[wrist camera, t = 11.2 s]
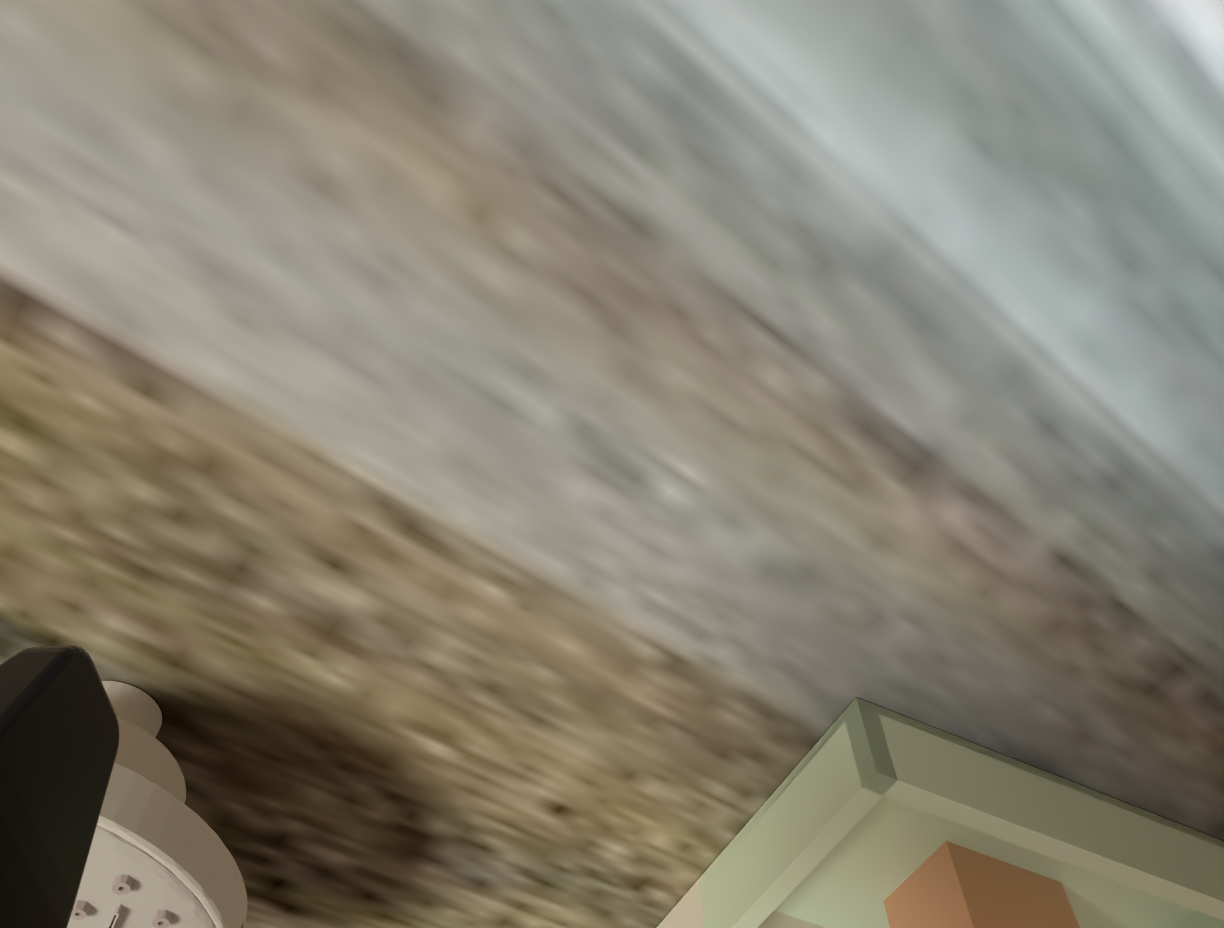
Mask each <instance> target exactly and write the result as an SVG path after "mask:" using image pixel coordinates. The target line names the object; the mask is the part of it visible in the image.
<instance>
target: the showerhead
mask: <svg viewBox="0 0 1224 928" xmlns="http://www.w3.org/2000/svg"><path fill="white" fill-rule="evenodd" d="M102 684H103V686H104V688H105V691H106V693H107V695H108V698H109V700H110V702H111V704H112V707H113V709H114V711H115V714H116V716H117V720H118V724H119V736H120V738H119V747H118V751H117V755H116V759H115V762H114V766H113V769H112V773H111V777H110V780H109V784H108V787H107V791H106V794H105V798H104V801H103V805H102V808H101V812H100V816H99V819H98V823H97V826H96V830H95V833H94V837H93V840H92V844H91V848H90V851H89V855H88V858H87V862H86V865H85V869H84V872H83V876H82V879H81V883H80V887H79V890H78V894H77V897H76V901H75V904H74V907H73V910H72V913H71V917H70V920H69V923H68V926H67V928H245V924H246V918H247V909H248V902H247V893H246V889H245V885H244V881H243V878H242V875H241V873H240V871H239V868H238V866H237V864H236V862H235V860H234V858H233V857H232V855H231V853H230V852H229V850H228V849H227V848H226V846H225V845H224V843H223V842H222V840H221V839H220V838H219V836H218V835H217V834H216V833H215V832H214V831H213V830H212V829H211V828H210V827H209V826H208V825H207V823H206V822H205V821H204V820H203V819H202V818H201V817H200V816H199V815H198V814H197V813H195V812H194V811H193V810H191V809H190V808H189V807H187V806H186V805H185V801H186V786H185V780H184V776H183V774H182V771H181V769H180V767H179V765H178V762H177V761H176V760H175V758H174V757H173V756H172V754H171V753H170V752H169V750H168V749H167V748H166V747H165V746H164V745H163V744H162V743H161V742H160V741H158V740H157V739H156V736H157V734H158V732H159V729H160V727H161V724H162V713H161V711H160V708H159V706H158V705H157V703H156V702H155V701H154V700H153V699H152V698H151V697H150V696H149V695H148V694H146V693H145V692H144V691H142V690H140V689H138V688H136V687H134V686H131V685H129V684H126V683H121V682H116V681H102Z"/></svg>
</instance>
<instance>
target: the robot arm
mask: <svg viewBox="0 0 1224 928" xmlns="http://www.w3.org/2000/svg"><path fill="white" fill-rule="evenodd" d="M119 738H120V736H119V724H118V720H117V716H116V714H115V711H114V709H113V707H112V704H111V702H110V700H109V698H108V695H107V693H106V691H105V688H104V686H103V684H102V681H101V679H100V677H99V675H98V672H97V670H96V668H95V665H94V663H93V661H92V659H91V657H90V655H89V654H88V653H87V652H86V651H85V650H84V649H82V648H81V647H77V646H73V645H67V646H44V647H33V648H28V649H25V650H23V651H21V652H19V653H18V654H16V655H15V656H13V657H12V658H10V659H9V660H7V661H6V662H4V663H3V664H1V665H0V928H67V926H68V923H69V920H70V917H71V913H72V910H73V907H74V904H75V901H76V897H77V894H78V890H79V887H80V883H81V879H82V876H83V872H84V869H85V865H86V862H87V858H88V855H89V851H90V848H91V844H92V840H93V837H94V833H95V830H96V826H97V823H98V819H99V816H100V812H101V808H102V805H103V801H104V798H105V794H106V791H107V787H108V784H109V780H110V777H111V773H112V769H113V766H114V762H115V759H116V755H117V751H118V747H119Z"/></svg>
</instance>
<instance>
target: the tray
mask: <svg viewBox="0 0 1224 928" xmlns="http://www.w3.org/2000/svg"><path fill="white" fill-rule="evenodd" d="M945 841H948V842H951V843H954V844H956V845H959V846H962V847H965V848H968V849H970V850H973V851H976V852H979V853H981V854H984V855H987V856H990V857H993V858H995V859H998V860H1001V861H1004V862H1006V863H1009V864H1012V865H1015V866H1018V867H1020V868H1023V869H1026V870H1029V871H1031V872H1034V873H1037V874H1040V875H1043V876H1045V877H1048V878H1051V879H1054V880H1056V881H1059V882H1061V883H1062V885H1063V888H1064V890H1065V893H1066V895H1067V897H1068V900H1069V902H1070V905H1071V907H1072V910H1073V912H1074V914H1075V917H1076V919H1077V922H1078V924H1079V926H1080V928H1224V841H1222V840H1219V839H1217V838H1214V837H1212V836H1209V835H1207V834H1204V833H1202V832H1199V831H1196V830H1194V829H1191V828H1189V827H1186V826H1184V825H1181V824H1179V823H1176V822H1173V821H1171V820H1168V819H1166V818H1163V817H1161V816H1158V815H1156V814H1153V813H1150V812H1148V811H1145V810H1143V809H1140V808H1138V807H1135V806H1133V805H1130V804H1127V803H1125V802H1122V801H1120V800H1117V799H1115V798H1112V797H1110V796H1107V795H1104V794H1102V793H1099V792H1097V791H1094V790H1092V789H1089V788H1087V787H1084V786H1081V785H1079V784H1076V783H1074V782H1071V781H1069V780H1066V779H1064V778H1061V777H1058V776H1056V775H1053V774H1051V773H1048V772H1046V771H1043V770H1041V769H1038V768H1035V767H1033V766H1030V765H1028V764H1025V763H1023V762H1020V761H1018V760H1015V759H1013V758H1010V757H1007V756H1005V755H1002V754H1000V753H997V752H995V751H992V750H990V749H987V748H984V747H982V746H979V745H977V744H974V743H972V742H969V741H967V740H964V739H961V738H959V737H956V736H954V735H951V734H949V733H946V732H944V731H941V730H938V729H936V728H933V727H931V726H928V725H926V724H923V723H921V722H918V721H915V720H913V719H910V718H908V717H905V716H903V715H900V714H898V713H895V712H892V711H890V710H887V709H885V708H882V707H880V706H877V705H875V704H872V703H869V702H867V701H864V700H862V699H859V698H857V697H856V698H855V699H854V700H853V702H852V703H851V704H850V705H849V706H848V707H847V708H846V710H845V711H844V712H843V713H842V714H841V715H840V717H839V718H838V719H837V720H836V721H835V722H834V723H833V725H832V726H831V727H830V728H829V729H828V730H827V732H826V733H825V734H824V735H823V736H822V737H821V738H820V740H819V741H818V742H817V743H816V744H815V745H814V747H813V748H812V749H811V750H810V751H809V752H808V753H807V755H806V756H805V757H804V758H803V759H802V760H801V762H800V763H799V764H798V765H797V766H796V767H795V768H794V770H793V771H792V772H791V773H790V774H789V775H788V777H787V778H786V779H785V780H784V781H783V782H782V783H781V785H780V786H779V787H778V788H777V789H776V790H775V792H774V793H773V794H772V795H771V796H770V797H769V798H768V800H767V801H766V802H765V803H764V804H763V805H762V807H761V808H760V809H759V810H758V811H757V812H756V813H755V815H754V816H753V817H752V818H751V819H750V820H749V822H748V823H747V824H746V825H745V826H744V827H743V828H742V830H741V831H740V832H739V833H738V834H737V835H736V837H735V838H734V839H733V840H732V841H731V842H730V844H729V845H728V846H727V847H726V848H725V849H724V850H723V852H722V853H721V854H720V855H719V856H718V857H717V859H716V860H715V861H714V862H713V863H712V864H711V865H710V867H709V868H708V869H707V870H706V871H705V872H704V874H703V875H702V876H701V877H700V884H701V896H702V909H703V921H704V928H758V927H759V926H760V925H761V923H762V922H763V921H764V920H765V919H766V918H767V917H768V916H769V915H770V914H771V913H772V912H773V911H777V912H780V913H783V914H786V915H789V916H792V917H795V918H798V919H801V920H804V921H808V922H811V923H814V924H817V925H820V926H823V927H826V928H890V926H889V922H888V918H887V914H886V910H885V906H884V902H883V901H884V900H885V899H886V898H887V897H888V896H889V895H891V894H892V893H893V892H894V891H895V890H896V889H897V888H898V887H899V886H900V885H901V884H902V883H903V882H904V881H905V880H906V879H907V878H908V877H909V876H910V875H911V874H912V873H913V872H914V871H915V870H916V869H917V868H918V867H919V866H920V865H921V864H923V863H924V862H925V861H926V860H927V859H928V858H929V857H930V856H931V855H932V854H933V853H934V852H935V851H936V850H937V849H938V848H939V847H940V846H941V845H942V844H943V843H944V842H945Z"/></svg>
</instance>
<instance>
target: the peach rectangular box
mask: <svg viewBox="0 0 1224 928" xmlns="http://www.w3.org/2000/svg"><path fill="white" fill-rule="evenodd" d="M883 902H884V906H885V910H886V914H887V918H888V922H889V926H890V928H1080V926H1079V924H1078V922H1077V919H1076V917H1075V914H1074V912H1073V910H1072V907H1071V905H1070V902H1069V900H1068V897H1067V895H1066V893H1065V890H1064V888H1063V885H1062V883H1061V882H1059V881H1056V880H1054V879H1051V878H1048V877H1045V876H1043V875H1040V874H1037V873H1034V872H1031V871H1029V870H1026V869H1023V868H1020V867H1018V866H1015V865H1012V864H1009V863H1006V862H1004V861H1001V860H998V859H995V858H993V857H990V856H987V855H984V854H981V853H979V852H976V851H973V850H970V849H968V848H965V847H962V846H959V845H956V844H954V843H951V842H948V841H945V842H944V843H943V844H942V845H941V846H940V847H939V848H938V849H937V850H936V851H935V852H934V853H933V854H932V855H931V856H930V857H929V858H928V859H927V860H926V861H925V862H924V863H923V864H921V865H920V866H919V867H918V868H917V869H916V870H915V871H914V872H913V873H912V874H911V875H910V876H909V877H908V878H907V879H906V880H905V881H904V882H903V883H902V884H901V885H900V886H899V887H898V888H897V889H896V890H895V891H894V892H893V893H892V894H891V895H889V896H888V897H887V898H886V899H885V900H884V901H883Z"/></svg>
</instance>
